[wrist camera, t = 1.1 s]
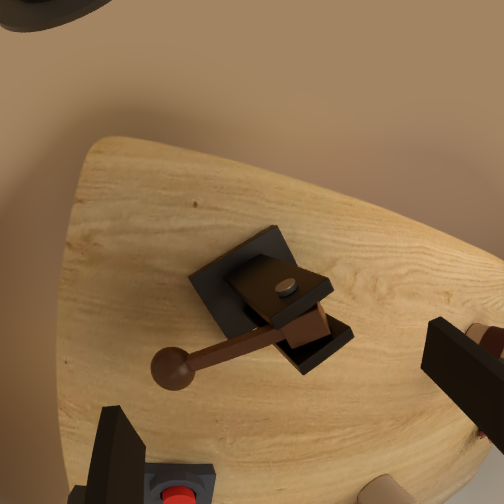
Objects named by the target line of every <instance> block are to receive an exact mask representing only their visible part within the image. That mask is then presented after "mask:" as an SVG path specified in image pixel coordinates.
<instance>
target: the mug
mask: <svg viewBox="0 0 504 504" xmlns="http://www.w3.org/2000/svg"><path fill="white" fill-rule="evenodd" d="M358 501H359V502H360V504H420V503H419V502H418V501H417V500H416V499H415V498H414V497H412V496H411V495H410V494H409V493H408V492H407V491H406V490H405V489H404V488H403V487H402V486H400V485H399V484H398V483H397V482H396V481H395V480H394V479H393V478H392V477H391V476H390V475H383V476H380V477H378V478H376V479H374V480H373V481H372V482H370V483H369V484H368V485H367V486H366V487H364V489H363V490H362V491H361V492H360V494H359V495H358Z"/></svg>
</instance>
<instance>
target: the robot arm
mask: <svg viewBox="0 0 504 504" xmlns="http://www.w3.org/2000/svg"><path fill="white" fill-rule="evenodd" d="M21 1H23V2H28V3H40V2H47V1H51V0H21ZM421 369H422V370H423V371H424V372H425V373H426V374H427V375H428V376H429V377H430V378H431V379H432V380H433V381H434V382H435V383H436V384H437V385H438V386H439V387H440V388H441V389H442V390H443V391H444V392H445V393H446V394H447V395H448V396H449V397H450V398H451V399H452V401H453V402H454V403H455V404H456V405H457V406H458V407H459V408H460V409H461V410H462V411H463V412H464V413H465V414H466V415H467V416H468V417H469V418H470V419H471V420H472V421H473V422H474V423H475V424H476V426H477V427H478V428H479V429H480V430H481V431H482V432H483V433H484V434H485V435H486V436H487V437H488V438H489V439H490V440H491V442H492V443H493V444H494V445H495V446H496V447H497V448H498V449H499V450H500V451H501V452H502V453H503V455H504V358H502V357H500V358H499V359H497V358H495V357H494V356H493V355H491V354H490V353H489V352H488V351H486V350H485V349H484V348H482V347H481V346H480V345H479V344H477V343H476V342H475V341H473V340H472V339H471V338H469V337H468V336H467V335H465V334H464V333H463V332H461V331H460V330H459V329H457V328H456V327H455V326H453V325H452V324H451V323H449V322H448V321H447V320H445V319H444V318H442V317H441V316H440V317H438V318H436V319H433V320H431V321H429V323H428V329H427V336H426V342H425V347H424V353H423V358H422V363H421ZM145 451H146V446H145V444H144V443H143V441H142V440H141V438H140V437H139V435H138V434H137V432H136V431H135V429H134V428H133V426H132V425H131V423H130V422H129V420H128V418H127V417H126V415H125V414H124V412H123V410H122V409H121V407H120V405H117V406H107V407H102V411H101V415H100V420H99V424H98V429H97V433H96V438H95V443H94V447H93V452H92V458H91V463H90V468H89V474H88V480H87V486H80V485H75V486H74V488H73V490H72V491H71V493H70V494H69V496H68V502H67V504H144V474H145Z"/></svg>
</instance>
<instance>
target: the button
mask: <svg viewBox="0 0 504 504" xmlns="http://www.w3.org/2000/svg"><path fill="white" fill-rule="evenodd" d="M162 497H163V504H196V500H195V496H194V493H193V491H192V490H191V489H190V488H188V487H185V486H172V487H169V488H166V489H164V490H163V492H162Z"/></svg>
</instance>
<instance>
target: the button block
mask: <svg viewBox="0 0 504 504" xmlns="http://www.w3.org/2000/svg"><path fill="white" fill-rule="evenodd" d="M215 478H216V473H215V470H214V467H213V464H155V463H145V474H144V504H163V497H162V492H163V490H164V489H166V488H169V487H172V486H185V487H188V488H190V489H191V490H192V491H193V493H194V496H195V500H196V504H211V502H212V496H213V490H214V484H215Z"/></svg>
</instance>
